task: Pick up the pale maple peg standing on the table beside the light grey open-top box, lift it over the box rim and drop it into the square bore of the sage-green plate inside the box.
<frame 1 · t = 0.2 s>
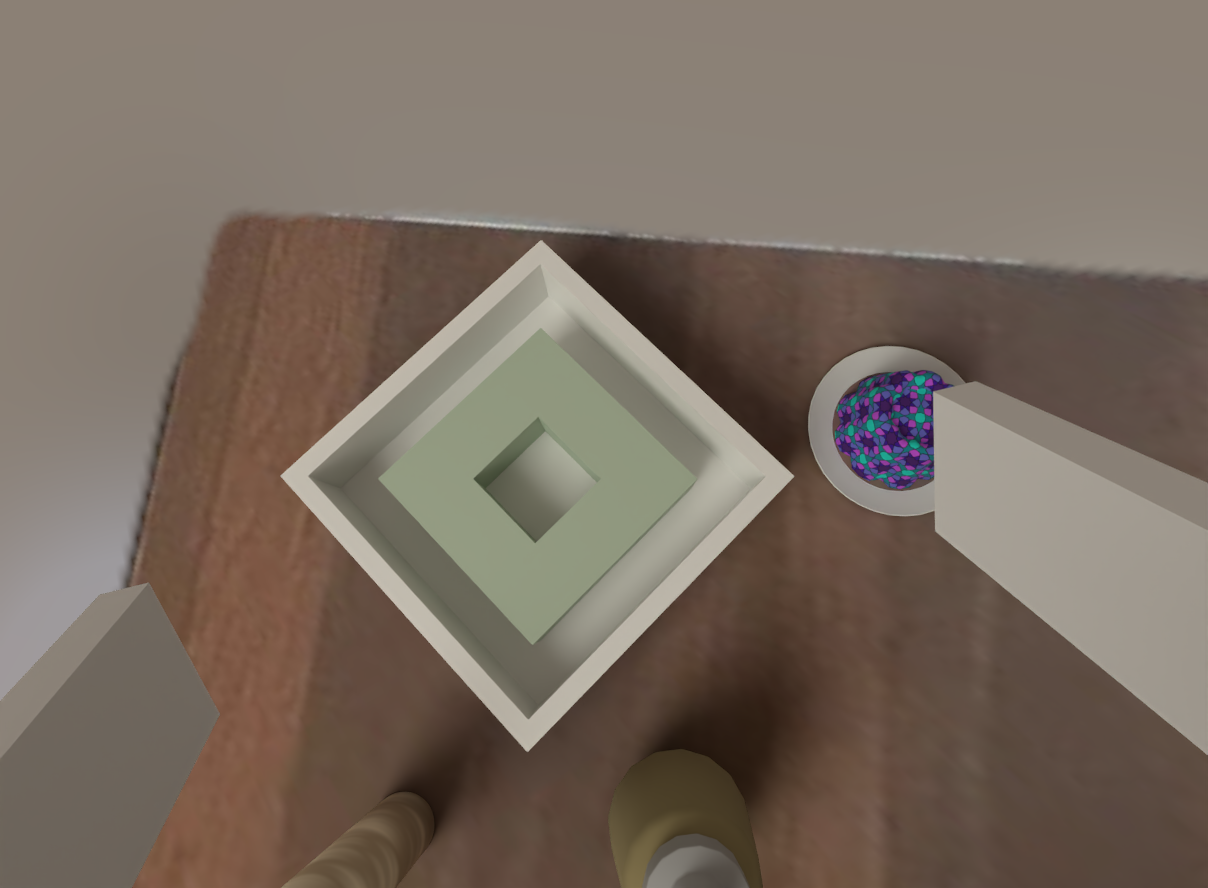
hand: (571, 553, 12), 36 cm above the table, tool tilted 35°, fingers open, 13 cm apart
open box: (545, 490, 48), on the table
peg: (402, 826, 44), on the table
squeeze bottle: (673, 804, 44), on the table
bore plate: (540, 483, 45), in the open box, point 3 cm above the table
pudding: (890, 432, 49), on the table
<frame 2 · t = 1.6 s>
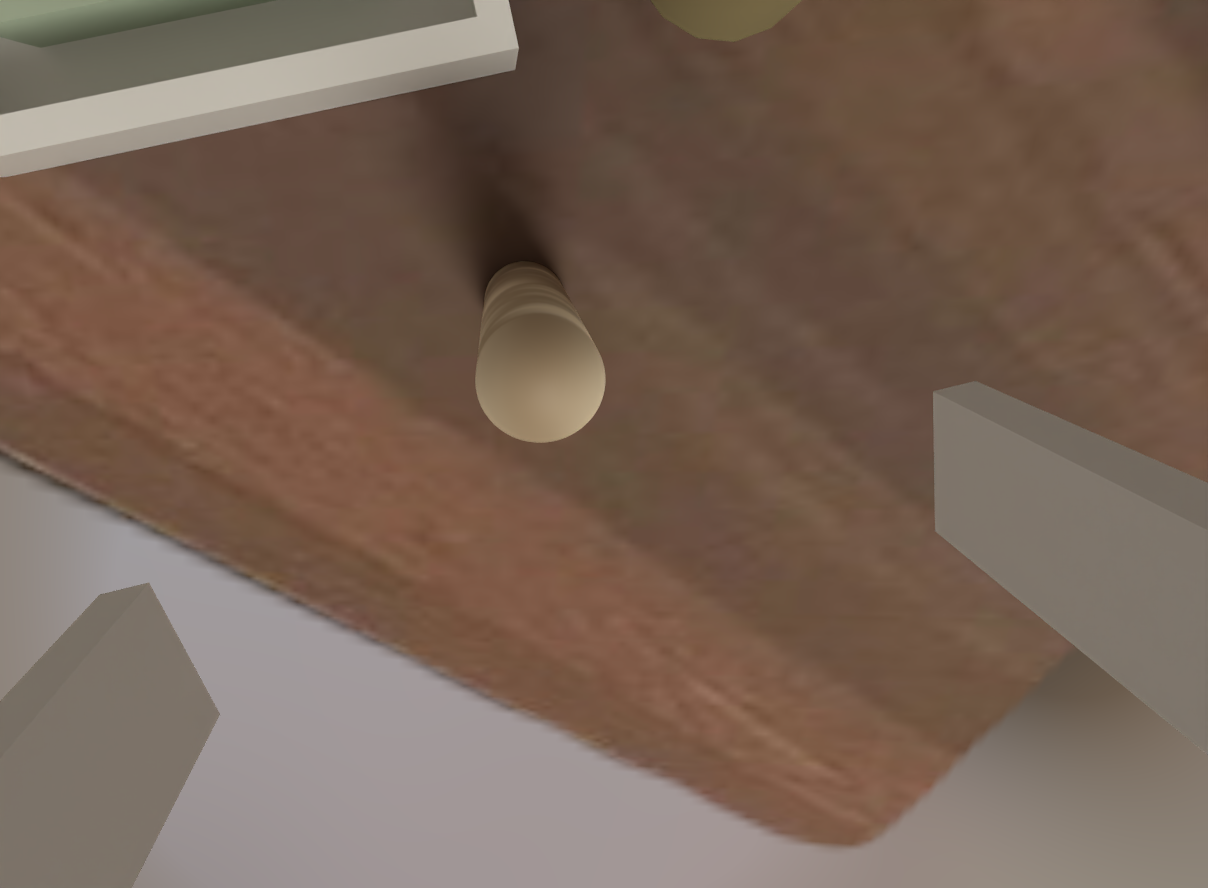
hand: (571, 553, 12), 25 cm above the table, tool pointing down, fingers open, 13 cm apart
peg: (525, 302, 34), on the table
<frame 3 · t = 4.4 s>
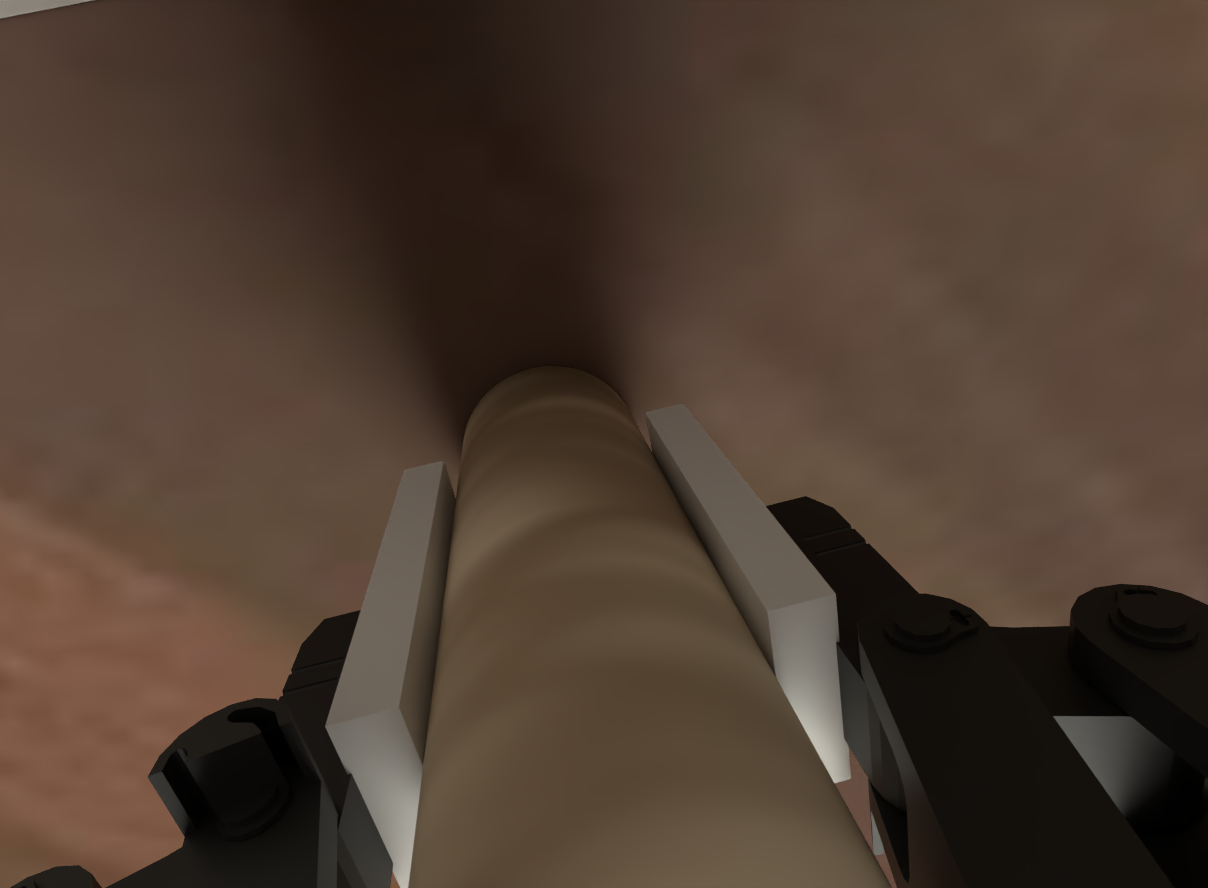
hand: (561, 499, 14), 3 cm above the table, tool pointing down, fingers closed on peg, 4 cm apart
peg: (551, 450, 16), on the table, touching gripper
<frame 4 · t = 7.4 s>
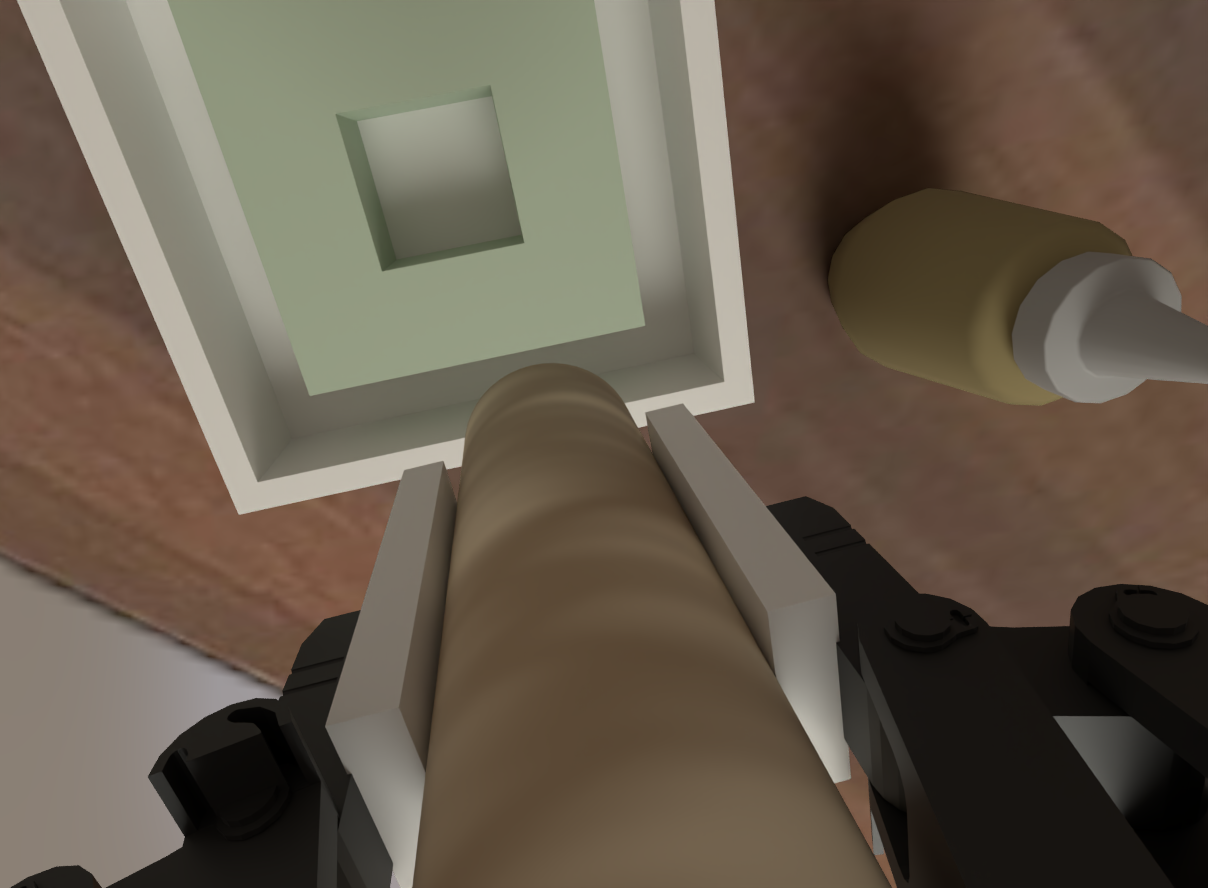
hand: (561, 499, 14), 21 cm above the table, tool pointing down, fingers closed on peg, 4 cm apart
open box: (444, 180, 31), on the table
peg: (551, 445, 16), point 18 cm above the table, touching gripper
squeeze bottle: (880, 271, 35), on the table
bore plate: (438, 180, 28), in the open box, point 3 cm above the table
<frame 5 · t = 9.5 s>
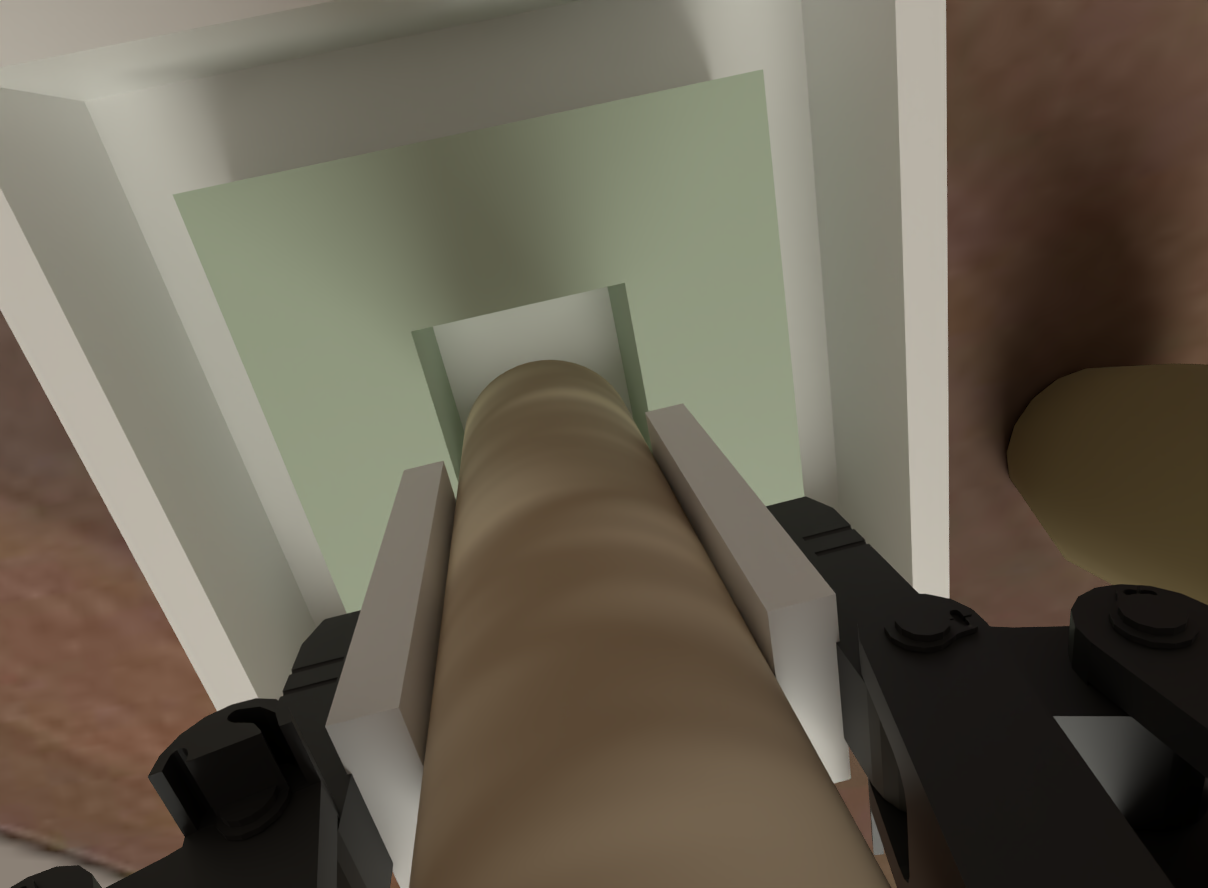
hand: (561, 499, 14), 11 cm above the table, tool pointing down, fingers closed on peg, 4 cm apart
open box: (534, 361, 24), on the table
peg: (549, 441, 17), point 8 cm above the table, touching gripper
squeeze bottle: (1067, 435, 28), on the table
bore plate: (539, 386, 21), in the open box, point 3 cm above the table
when the fingers open (7 cm above the table, at t = 10.7 s): peg drops 2 cm, resting on open box.
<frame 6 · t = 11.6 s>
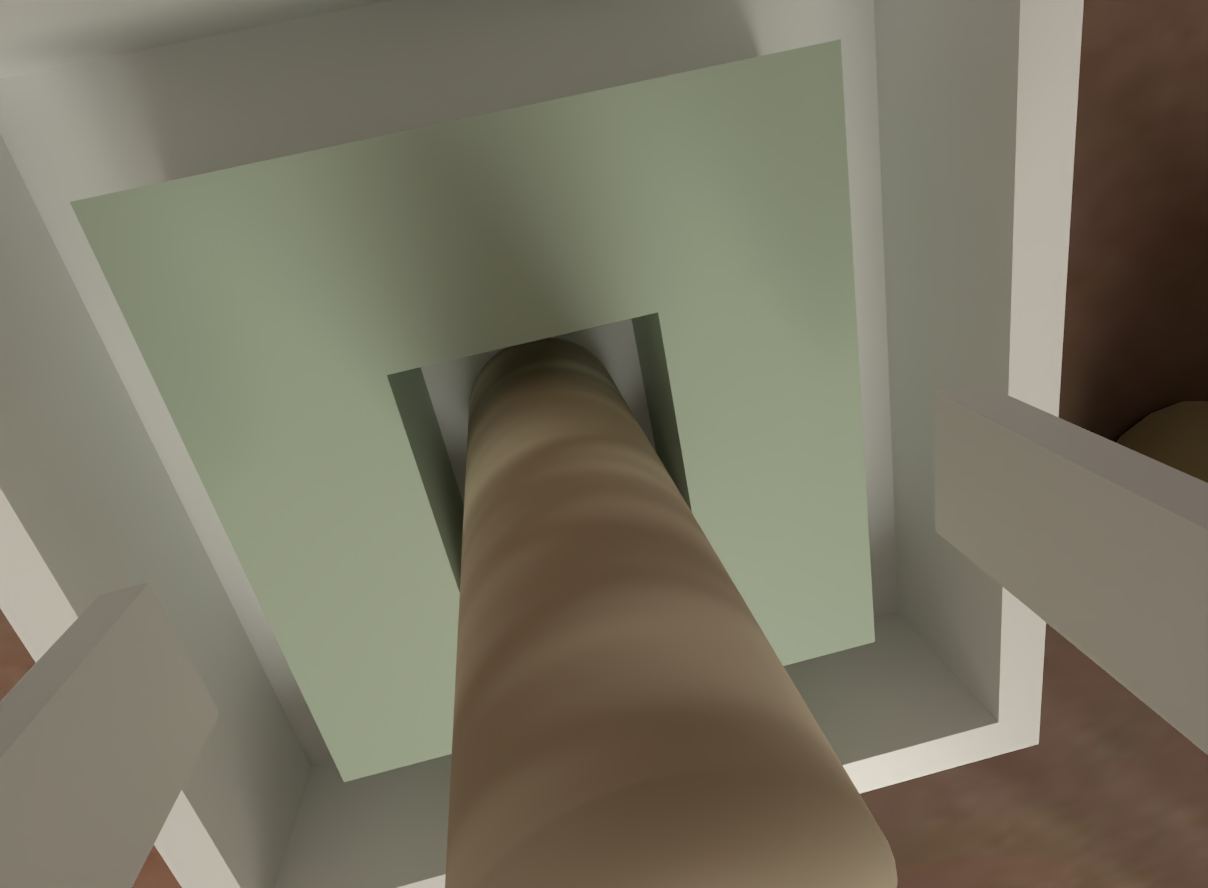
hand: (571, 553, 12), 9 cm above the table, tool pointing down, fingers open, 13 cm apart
open box: (541, 397, 20), on the table
peg: (544, 410, 19), point 1 cm above the table, touching open box
squeeze bottle: (1156, 477, 24), on the table
bore plate: (548, 434, 17), in the open box, point 3 cm above the table
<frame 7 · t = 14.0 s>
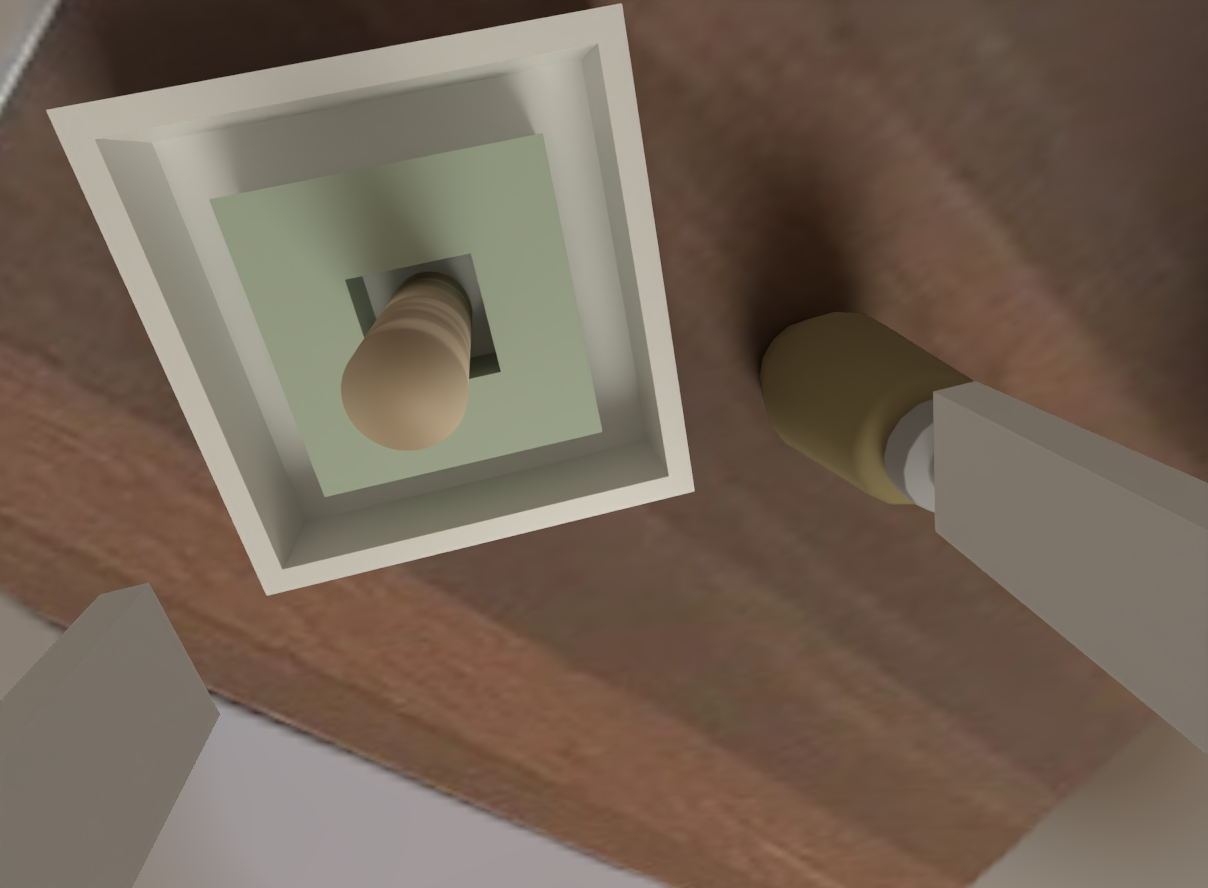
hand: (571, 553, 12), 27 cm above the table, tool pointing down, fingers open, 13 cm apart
open box: (433, 307, 36), on the table
peg: (432, 311, 36), point 1 cm above the table, touching open box
squeeze bottle: (804, 366, 41), on the table
bore plate: (429, 318, 34), in the open box, point 3 cm above the table
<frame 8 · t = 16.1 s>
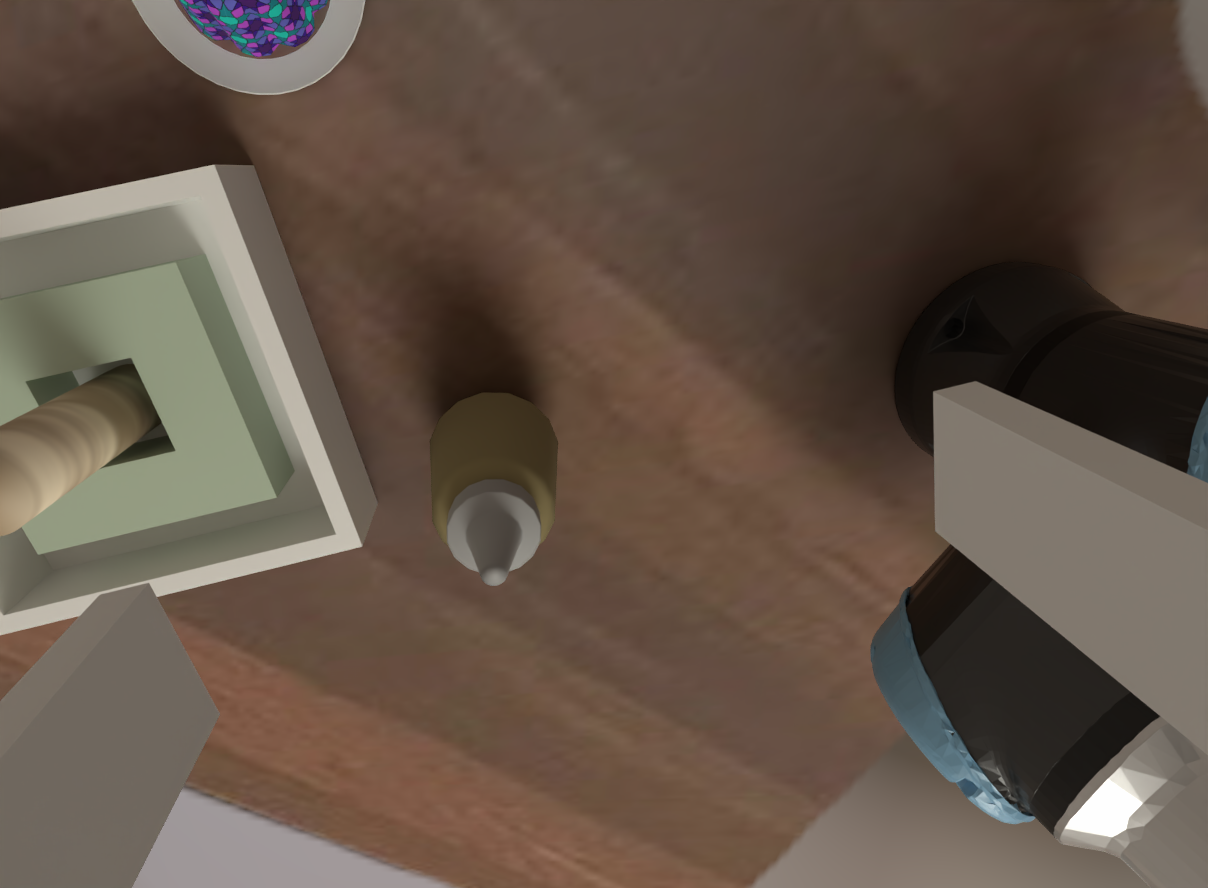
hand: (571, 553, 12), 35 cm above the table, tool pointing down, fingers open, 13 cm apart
open box: (145, 390, 43), on the table
peg: (137, 396, 42), point 1 cm above the table, touching open box
squeeze bottle: (494, 431, 47), on the table
bore plate: (120, 406, 40), in the open box, point 3 cm above the table
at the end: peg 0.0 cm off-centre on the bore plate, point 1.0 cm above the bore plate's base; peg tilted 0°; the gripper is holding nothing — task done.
